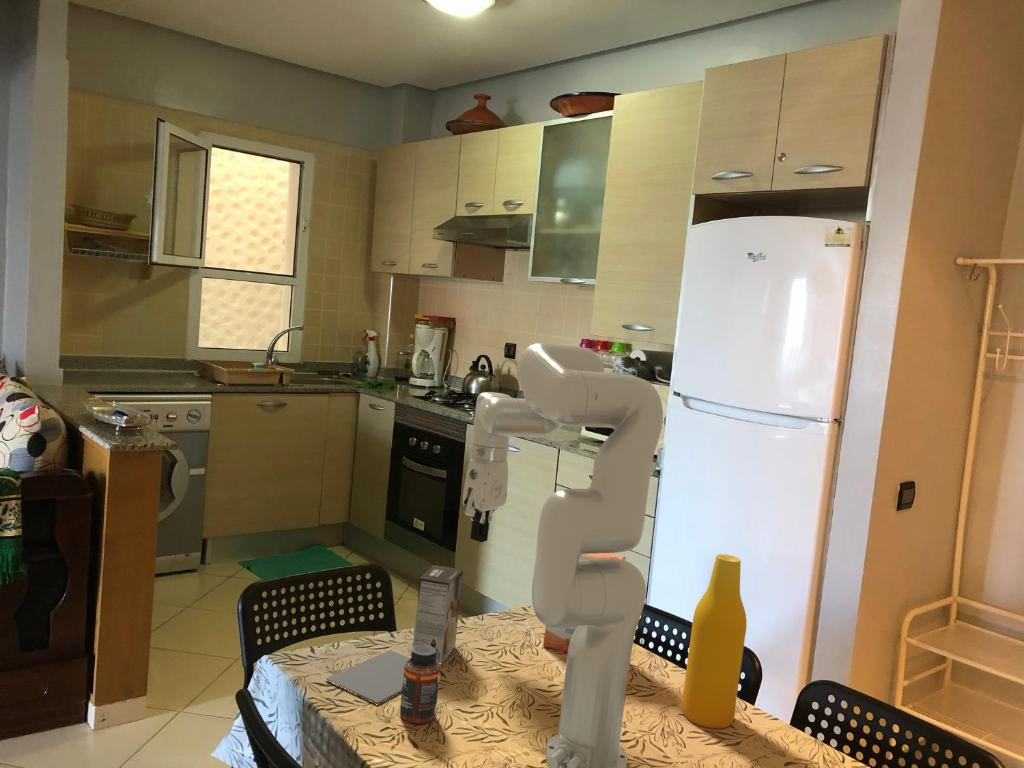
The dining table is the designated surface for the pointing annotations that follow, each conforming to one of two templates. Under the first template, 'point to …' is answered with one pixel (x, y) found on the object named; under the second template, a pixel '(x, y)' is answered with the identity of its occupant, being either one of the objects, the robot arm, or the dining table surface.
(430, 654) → the supplement bottle
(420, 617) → the coffee box
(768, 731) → the dining table surface
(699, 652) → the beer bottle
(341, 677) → the mat
